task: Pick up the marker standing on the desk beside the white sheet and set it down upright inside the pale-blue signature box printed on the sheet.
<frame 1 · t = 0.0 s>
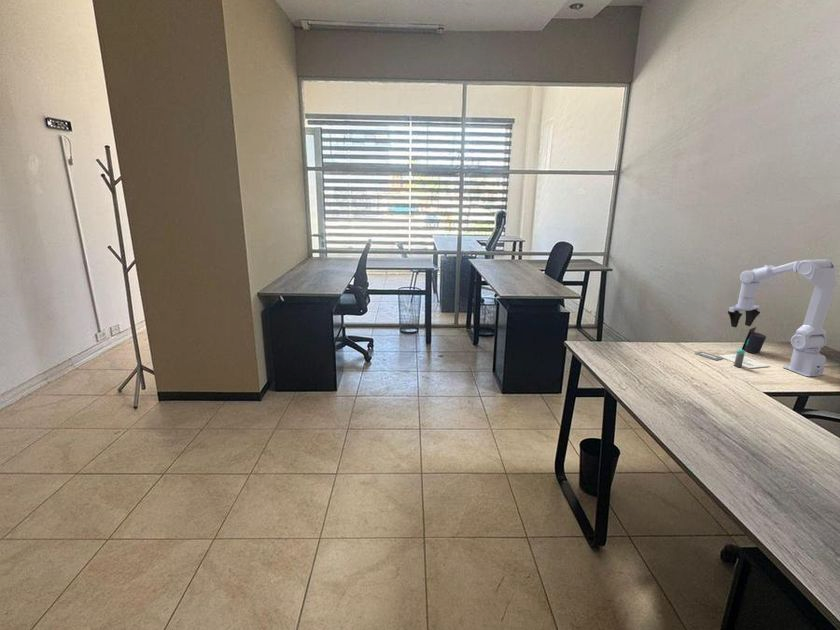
hand: (740, 326, 189), 10 cm above the table, fingers open, 7 cm apart
paper: (743, 361, 175), on the table
marker: (737, 366, 170), on the table
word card: (708, 356, 181), on the table
speaker: (752, 351, 187), on the table
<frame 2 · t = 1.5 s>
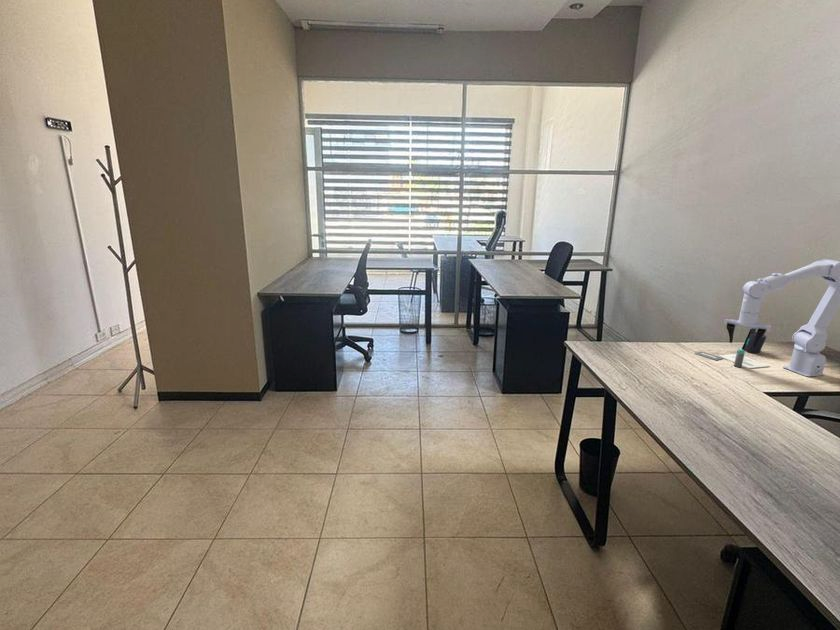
hand: (742, 344, 168), 10 cm above the table, fingers open, 7 cm apart
nothing on the table moved.
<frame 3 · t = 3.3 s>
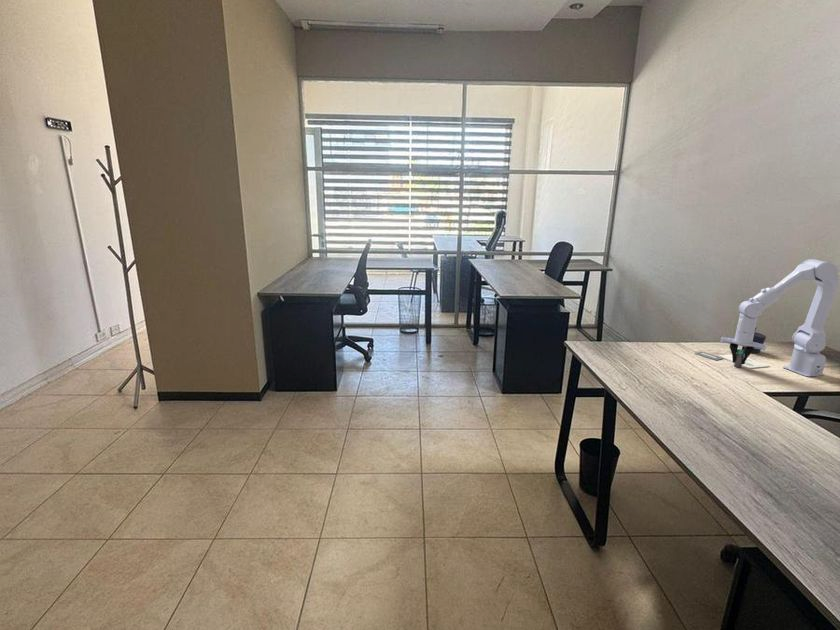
hand: (738, 362, 170), 2 cm above the table, fingers closed on marker, 2 cm apart
marker: (737, 366, 170), on the table, touching gripper
everything else where it was.
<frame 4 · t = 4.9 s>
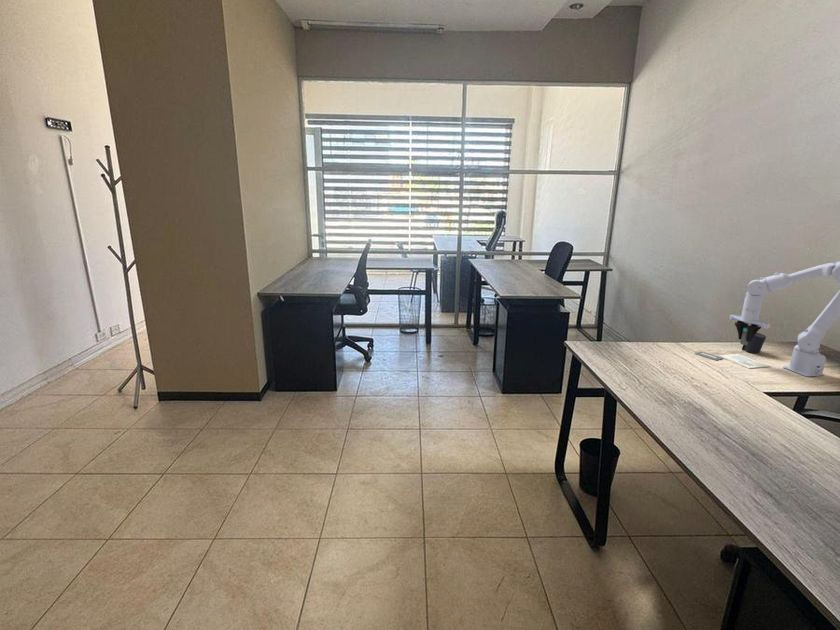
hand: (744, 340, 175), 9 cm above the table, fingers closed on marker, 2 cm apart
marker: (743, 343, 175), point 7 cm above the table, touching gripper
everything else where it was.
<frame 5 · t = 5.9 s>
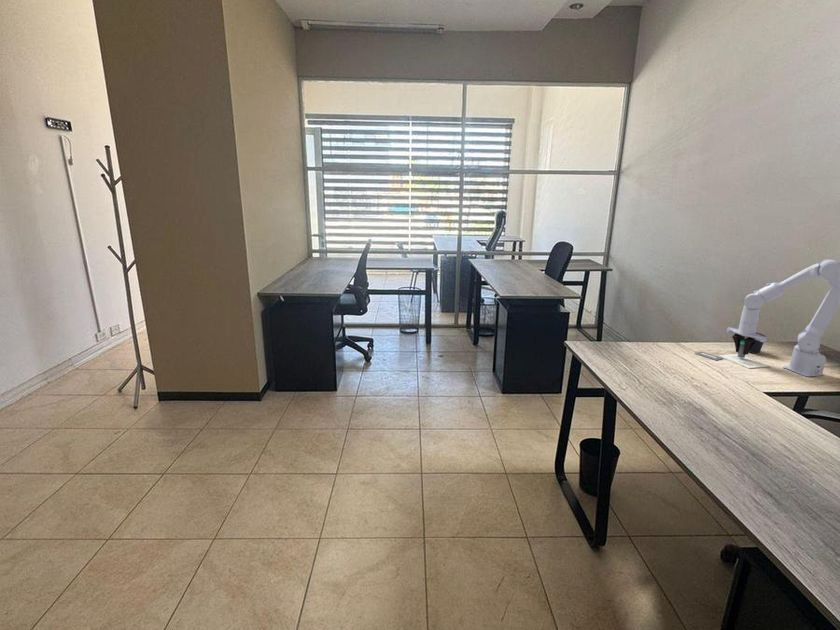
hand: (741, 353, 177), 3 cm above the table, fingers closed on marker, 2 cm apart
marker: (741, 356, 177), point 1 cm above the table, touching gripper
everything else where it was.
when the fingers open (3 cm above the table, at t = 6.6 s): marker stays where it is, resting on paper.
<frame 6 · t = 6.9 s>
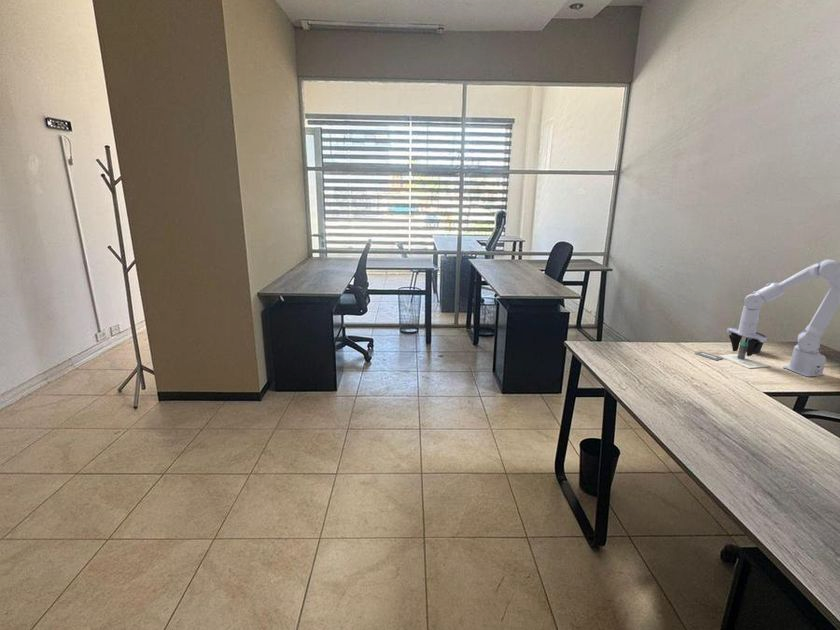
hand: (741, 353, 177), 3 cm above the table, fingers open, 5 cm apart
marker: (740, 358, 177), point 1 cm above the table, touching paper
everything else where it was.
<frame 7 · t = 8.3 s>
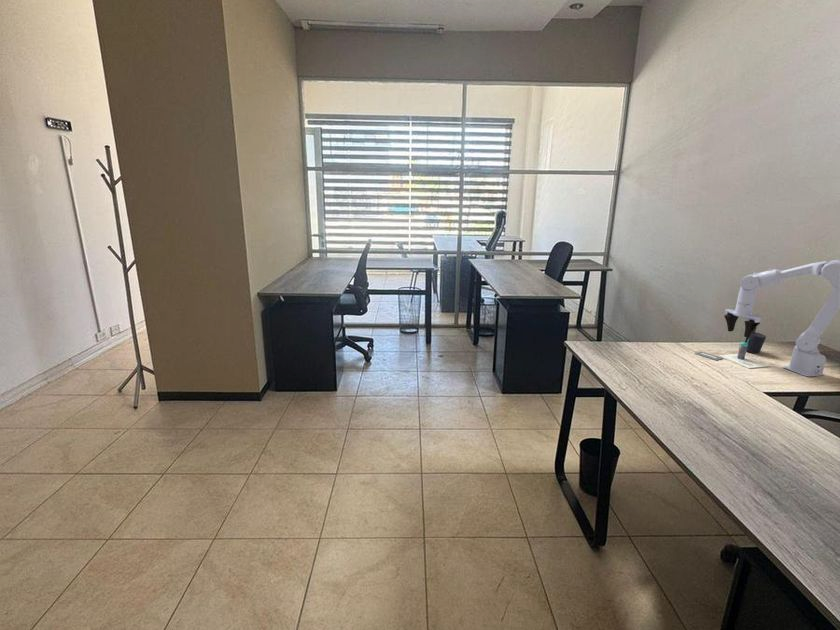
hand: (738, 333, 179), 10 cm above the table, fingers open, 7 cm apart
nothing on the table moved.
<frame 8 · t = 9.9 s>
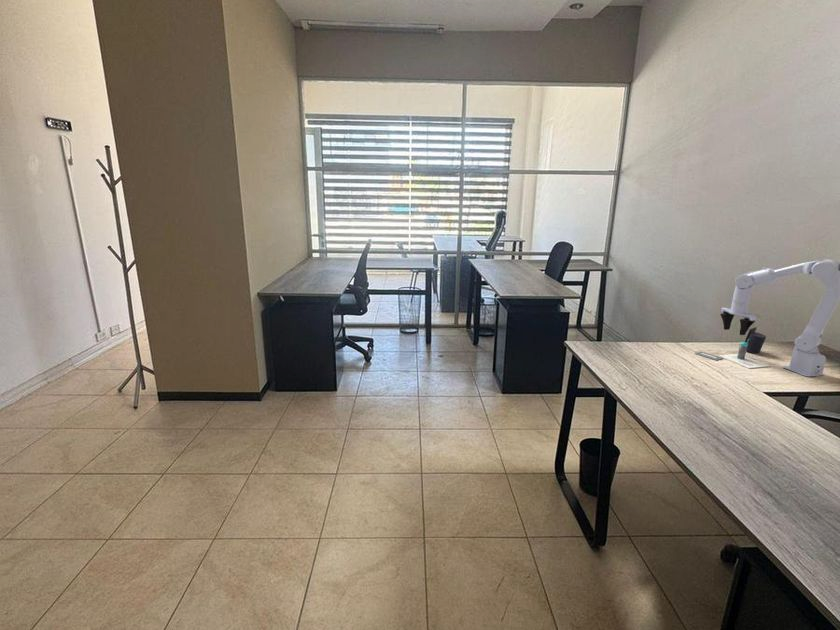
hand: (734, 332, 182), 10 cm above the table, fingers open, 7 cm apart
nothing on the table moved.
at the end: marker 0.1 cm from the target spot on the paper, point 0.5 cm above the paper's base; marker tilted 0°; the gripper is holding nothing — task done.
